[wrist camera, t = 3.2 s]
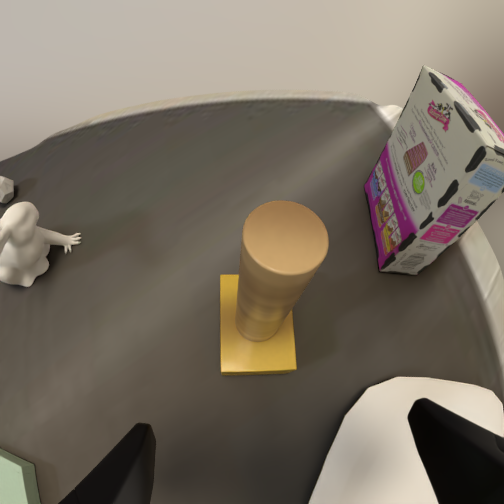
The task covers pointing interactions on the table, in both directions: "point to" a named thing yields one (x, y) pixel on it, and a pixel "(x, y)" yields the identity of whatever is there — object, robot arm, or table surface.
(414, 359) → the table surface
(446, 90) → the candy bar box
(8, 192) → the game die
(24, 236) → the white figurine
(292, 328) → the sponge wand
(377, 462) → the plate
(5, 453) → the tray
